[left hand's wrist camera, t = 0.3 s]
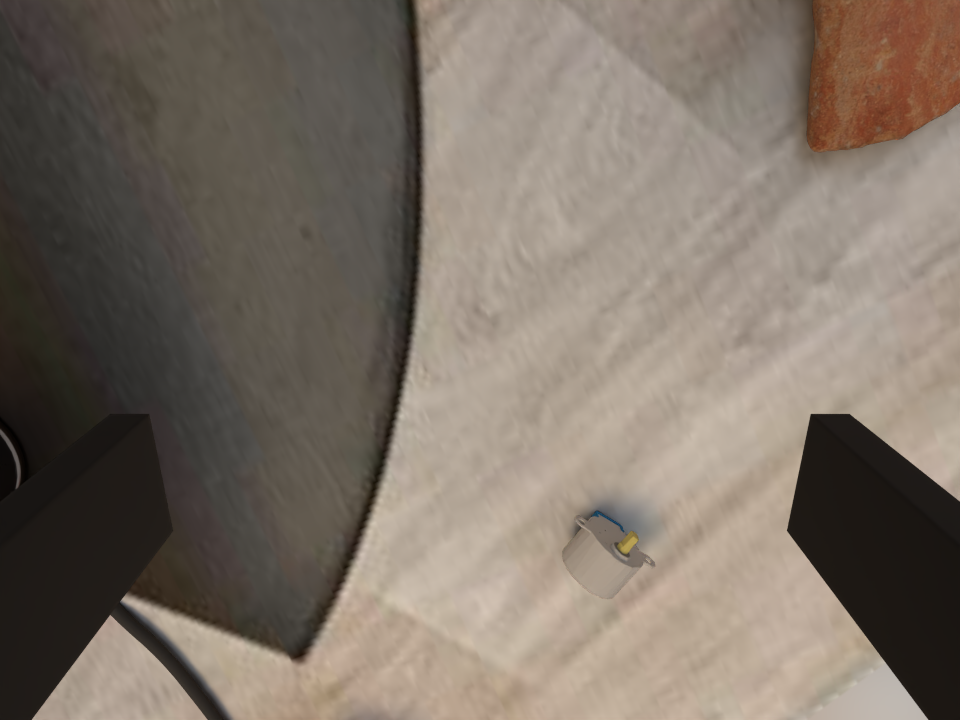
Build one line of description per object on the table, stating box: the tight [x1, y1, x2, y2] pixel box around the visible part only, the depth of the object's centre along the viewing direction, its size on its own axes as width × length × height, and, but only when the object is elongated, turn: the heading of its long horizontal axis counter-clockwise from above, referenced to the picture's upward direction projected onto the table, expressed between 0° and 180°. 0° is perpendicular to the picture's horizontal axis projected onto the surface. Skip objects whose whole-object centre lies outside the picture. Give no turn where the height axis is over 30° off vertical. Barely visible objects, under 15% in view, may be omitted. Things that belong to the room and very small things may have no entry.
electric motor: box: [562, 511, 655, 599], centre depth 44 cm, size 7×5×5 cm
